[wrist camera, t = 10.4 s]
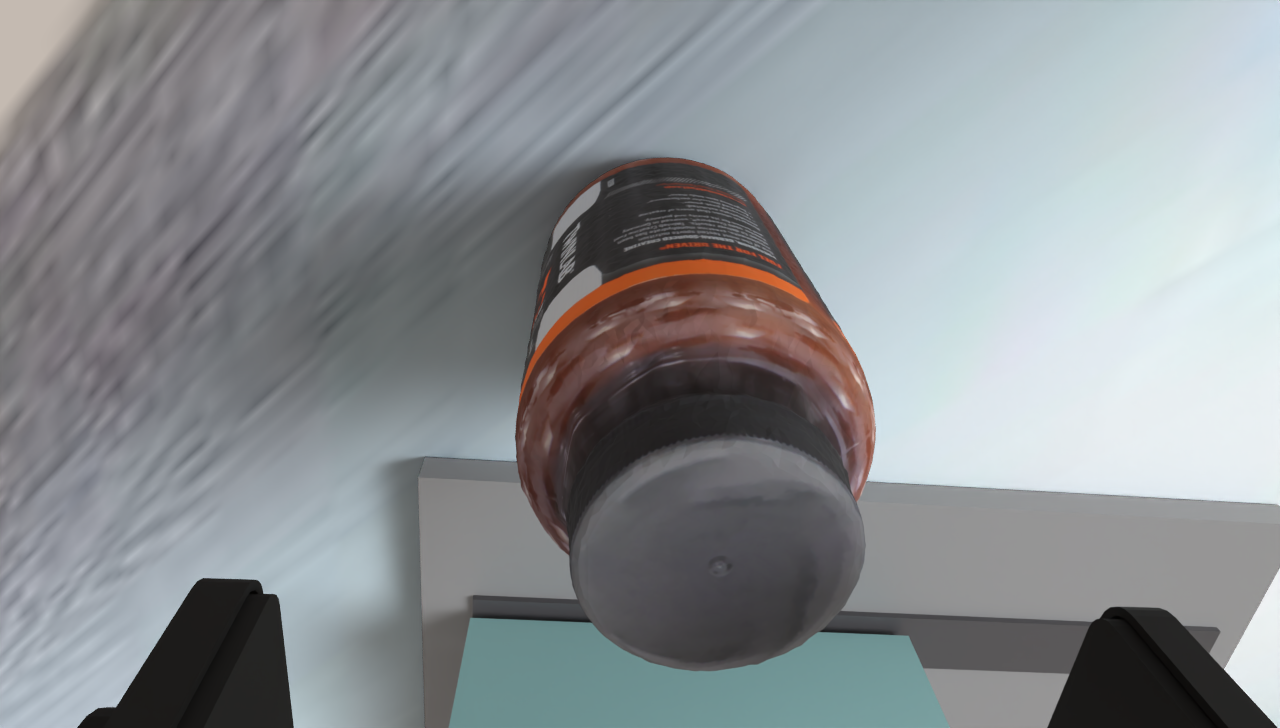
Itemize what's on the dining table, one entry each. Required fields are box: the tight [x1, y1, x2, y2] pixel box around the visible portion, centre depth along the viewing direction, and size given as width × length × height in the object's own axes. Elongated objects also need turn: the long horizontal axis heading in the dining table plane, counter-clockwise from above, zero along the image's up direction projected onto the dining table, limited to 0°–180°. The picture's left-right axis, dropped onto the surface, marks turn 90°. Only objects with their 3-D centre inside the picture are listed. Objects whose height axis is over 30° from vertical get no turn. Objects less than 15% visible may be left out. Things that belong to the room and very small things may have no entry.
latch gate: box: [449, 618, 950, 728], centre depth 23 cm, size 1×13×4 cm, turn 84°
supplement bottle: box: [515, 158, 876, 671], centre depth 16 cm, size 6×6×11 cm
